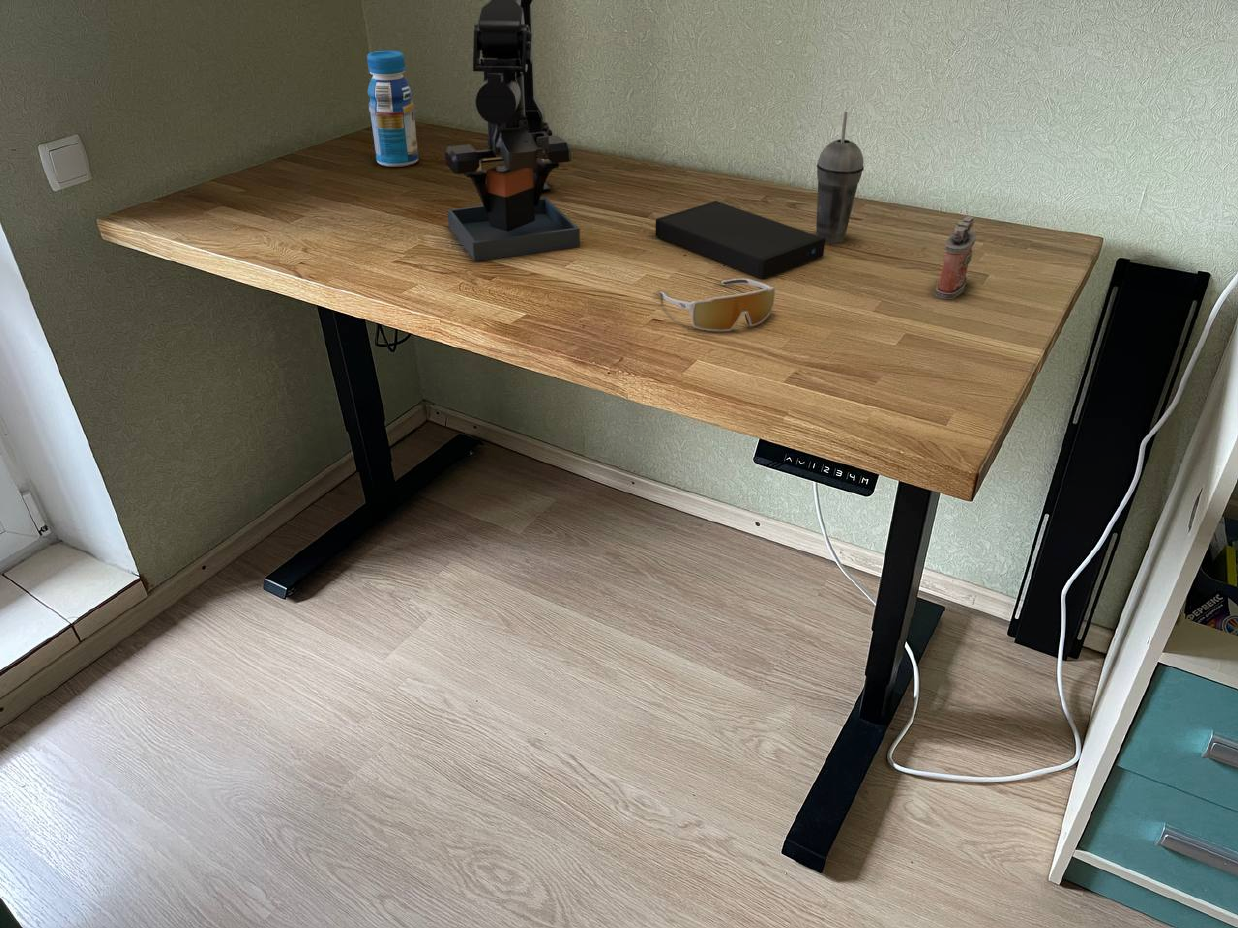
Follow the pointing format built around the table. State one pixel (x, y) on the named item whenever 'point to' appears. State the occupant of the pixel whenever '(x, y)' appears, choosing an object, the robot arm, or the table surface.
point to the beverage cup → (837, 186)
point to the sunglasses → (729, 307)
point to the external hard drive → (740, 239)
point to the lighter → (956, 260)
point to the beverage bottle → (391, 110)
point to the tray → (513, 232)
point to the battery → (510, 197)
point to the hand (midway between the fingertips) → (511, 208)
